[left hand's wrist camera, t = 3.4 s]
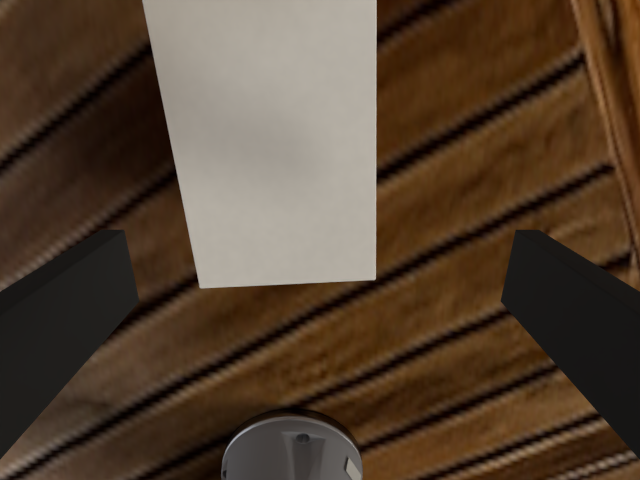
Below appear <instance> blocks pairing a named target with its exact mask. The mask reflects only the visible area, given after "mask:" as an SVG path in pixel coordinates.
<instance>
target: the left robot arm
mask: <svg viewBox="0 0 640 480" xmlns="http://www.w3.org/2000/svg"><path fill="white" fill-rule="evenodd" d="M138 302H139V298H138V293H137V288H136V283H135V279H134V274H133V269H132V265H131V260H130V255H129V250H128V246H127V241H126V236H125V231H124V230H100V231H99V232H97V233H95V234H94V235H92V236H91V237H89V238H87V239H86V240H84V241H82V242H81V243H79V244H78V245H76V246H74V247H73V248H71V249H69V250H68V251H66V252H64V253H63V254H61V255H60V256H58V257H56V258H55V259H53V260H51V261H50V262H48V263H47V264H45V265H43V266H42V267H40V268H38V269H37V270H35V271H33V272H32V273H30V274H29V275H27V276H25V277H24V278H22V279H20V280H19V281H17V282H16V283H14V284H12V285H11V286H9V287H7V288H6V289H4V290H2V291H1V292H0V459H1V458H2V457H3V456H4V454H5V453H6V452H7V451H8V450H9V449H10V448H11V446H12V445H13V444H14V443H15V442H16V441H17V440H18V439H19V437H20V436H21V435H22V434H23V433H24V432H25V431H26V429H27V428H28V427H29V426H30V425H31V424H32V423H33V421H34V420H35V419H36V418H37V417H38V416H39V415H40V414H41V412H42V411H43V410H44V409H45V408H46V407H47V406H48V404H49V403H50V402H51V401H52V400H53V399H54V398H55V396H56V395H57V394H58V393H59V392H60V391H61V390H62V389H63V387H64V386H65V385H66V384H67V383H68V382H69V381H70V379H71V378H72V377H73V376H74V375H75V374H76V373H77V371H78V370H79V369H80V368H81V367H82V366H83V365H84V364H85V362H86V361H87V360H88V359H89V358H90V357H91V356H92V354H93V353H94V352H95V351H96V350H97V349H98V348H99V346H100V345H101V344H102V343H103V342H104V341H105V340H106V339H107V337H108V336H109V335H110V334H111V333H112V332H113V331H114V329H115V328H116V327H117V326H118V325H119V324H120V323H121V321H122V320H123V319H124V318H125V317H126V316H127V315H128V313H129V312H130V311H131V310H132V309H133V308H134V307H135V306H136V304H137V303H138ZM501 302H502V303H503V304H504V306H505V307H506V308H507V309H508V310H509V311H510V312H511V313H512V315H513V316H514V317H515V318H516V319H517V320H518V321H519V323H520V324H521V325H522V326H523V327H524V328H525V329H526V331H527V332H528V333H529V334H530V335H531V336H532V337H533V339H534V340H535V341H536V342H537V343H538V344H539V345H540V346H541V348H542V349H543V350H544V351H545V352H546V353H547V354H548V356H549V357H550V358H551V359H552V360H553V361H554V362H555V364H556V365H557V366H558V367H559V368H560V369H561V370H562V371H563V373H564V374H565V375H566V376H567V377H568V378H569V379H570V381H571V382H572V383H573V384H574V385H575V386H576V387H577V389H578V390H579V391H580V392H581V393H582V394H583V395H584V396H585V398H586V399H587V400H588V401H589V402H590V403H591V404H592V406H593V407H594V408H595V409H596V410H597V411H598V412H599V414H600V415H601V416H602V417H603V418H604V419H605V420H606V421H607V423H608V424H609V425H610V426H611V427H612V428H613V429H614V431H615V432H616V433H617V434H618V435H619V436H620V437H621V439H622V440H623V441H624V442H625V443H626V444H627V445H628V446H629V448H630V449H631V450H632V451H633V452H634V453H635V454H636V456H637V457H638V458H639V459H640V292H639V291H638V290H636V289H634V288H633V287H631V286H629V285H628V284H626V283H624V282H623V281H621V280H620V279H618V278H616V277H615V276H613V275H611V274H610V273H608V272H607V271H605V270H603V269H602V268H600V267H598V266H597V265H595V264H593V263H592V262H590V261H589V260H587V259H585V258H584V257H582V256H580V255H579V254H577V253H576V252H574V251H572V250H571V249H569V248H567V247H566V246H564V245H562V244H561V243H559V242H558V241H556V240H554V239H553V238H551V237H549V236H548V235H546V234H545V233H543V232H541V231H540V230H516V231H515V236H514V241H513V246H512V250H511V255H510V260H509V265H508V269H507V274H506V279H505V283H504V288H503V293H502V298H501ZM362 472H363V470H362V459H361V451H360V448H359V445H358V443H357V441H356V440H355V438H354V437H353V435H352V434H351V433H350V432H349V431H348V430H347V429H346V428H345V427H344V426H343V425H341V424H340V423H338V422H337V421H335V420H333V419H331V418H329V417H327V416H324V415H321V414H318V413H315V412H310V411H304V410H278V411H272V412H268V413H264V414H261V415H259V416H256V417H254V418H252V419H250V420H248V421H247V422H245V423H244V424H242V425H241V426H240V427H239V428H238V429H237V430H236V431H235V432H234V433H233V434H232V436H231V437H230V439H229V441H228V443H227V446H226V449H225V453H224V457H223V461H222V470H221V479H222V480H362Z"/></svg>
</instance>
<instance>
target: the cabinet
mask: <svg viewBox="0 0 640 480" xmlns="http://www.w3.org/2000/svg"><path fill="white" fill-rule="evenodd" d="M142 2H143V7H144V12H145V17H146V22H147V27H148V32H149V37H150V42H151V47H152V52H153V57H154V62H155V67H156V72H157V77H158V82H159V87H160V92H161V97H162V101H163V106H164V111H165V116H166V121H167V126H168V131H169V136H170V141H171V146H172V151H173V156H174V161H175V166H176V171H177V176H178V181H179V186H180V191H181V196H182V201H183V206H184V211H185V216H186V221H187V226H188V231H189V236H190V241H191V246H192V251H193V256H194V261H195V266H196V271H197V276H198V281H199V286H200V288H217V287H238V286H258V285H279V284H300V283H321V282H341V281H362V280H376V0H142Z"/></svg>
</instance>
